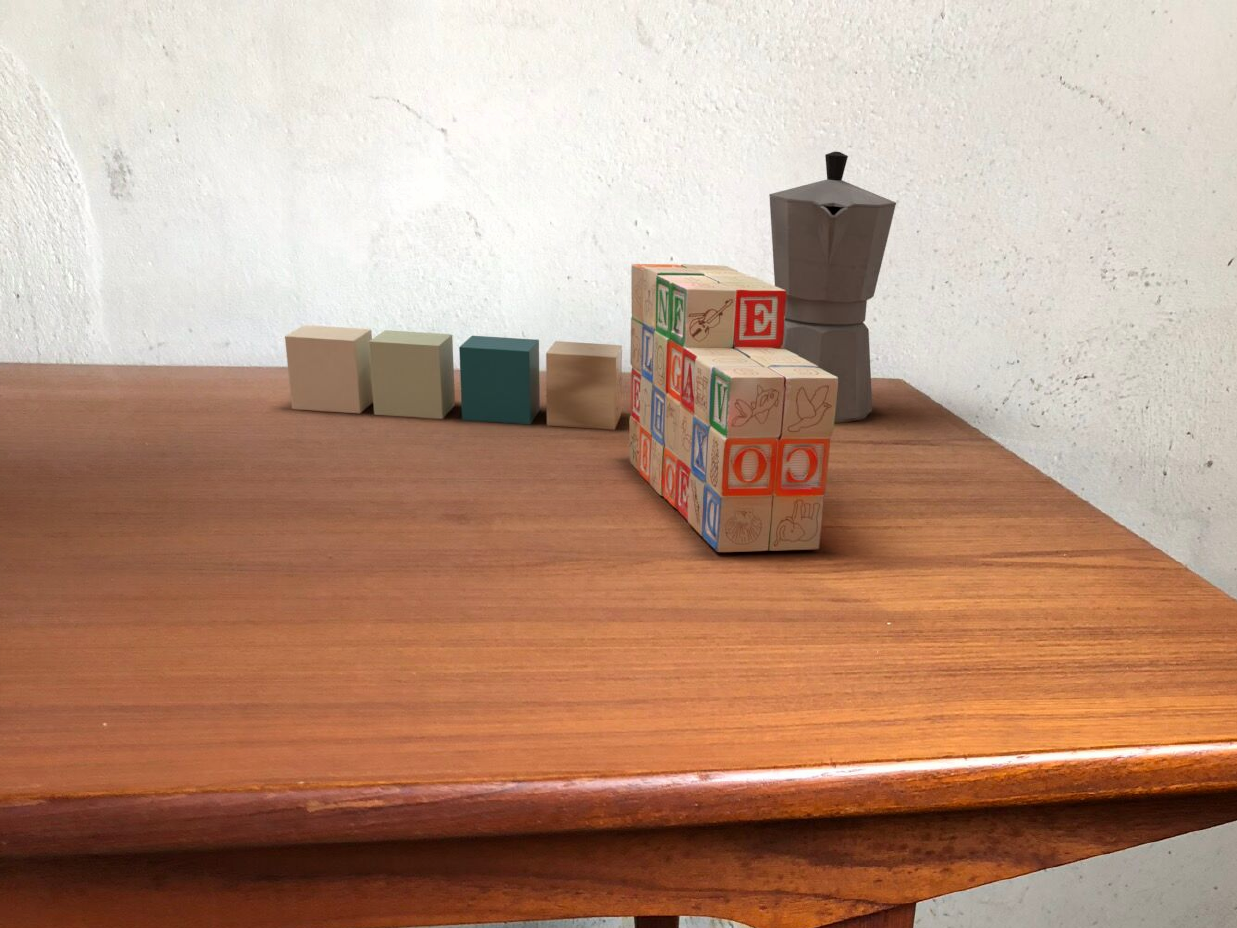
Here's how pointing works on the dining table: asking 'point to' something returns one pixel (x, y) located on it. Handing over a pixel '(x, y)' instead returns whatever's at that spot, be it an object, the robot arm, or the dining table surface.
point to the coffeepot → (831, 277)
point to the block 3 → (583, 385)
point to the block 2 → (412, 374)
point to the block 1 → (329, 369)
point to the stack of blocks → (727, 408)
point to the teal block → (500, 379)
